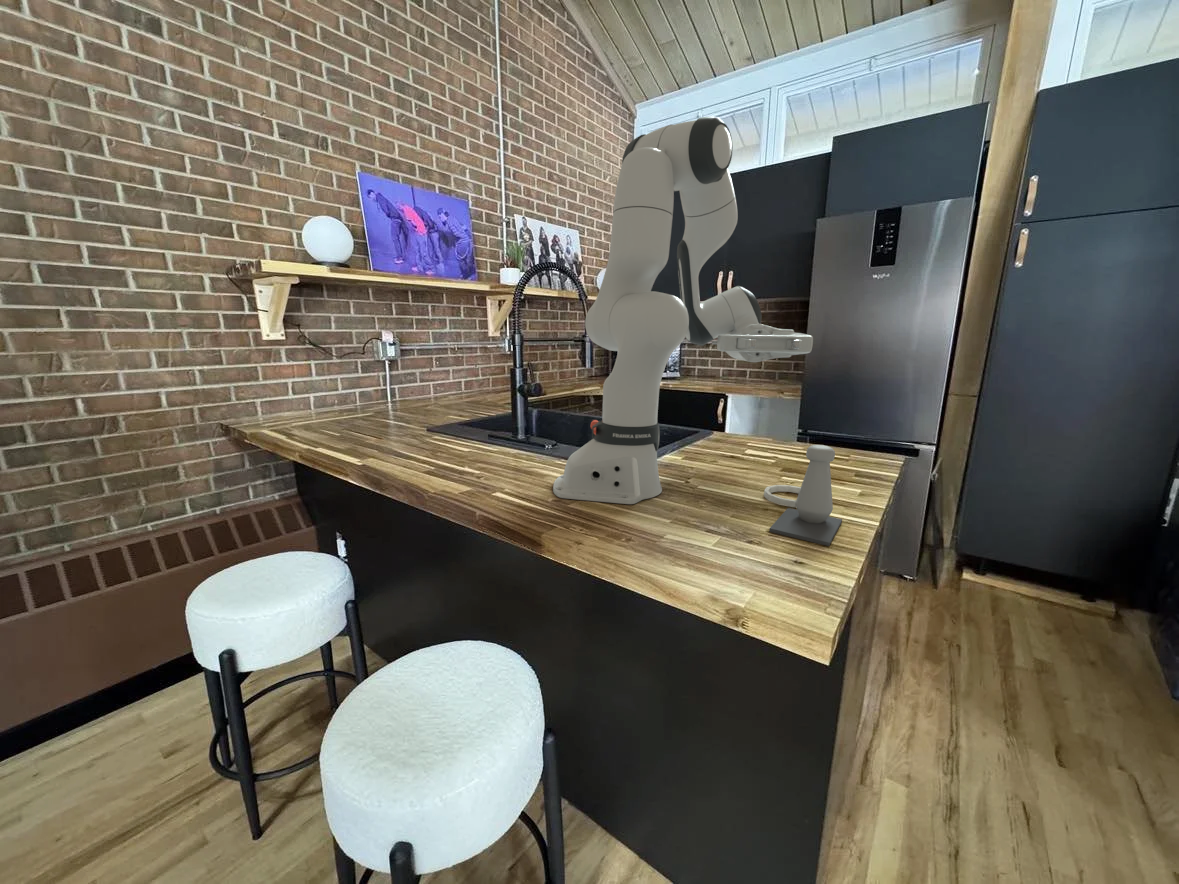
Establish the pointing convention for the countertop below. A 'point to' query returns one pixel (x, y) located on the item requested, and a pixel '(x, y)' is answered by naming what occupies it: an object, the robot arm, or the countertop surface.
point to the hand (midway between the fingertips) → (775, 344)
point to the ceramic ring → (778, 499)
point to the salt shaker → (816, 486)
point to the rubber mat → (806, 528)
